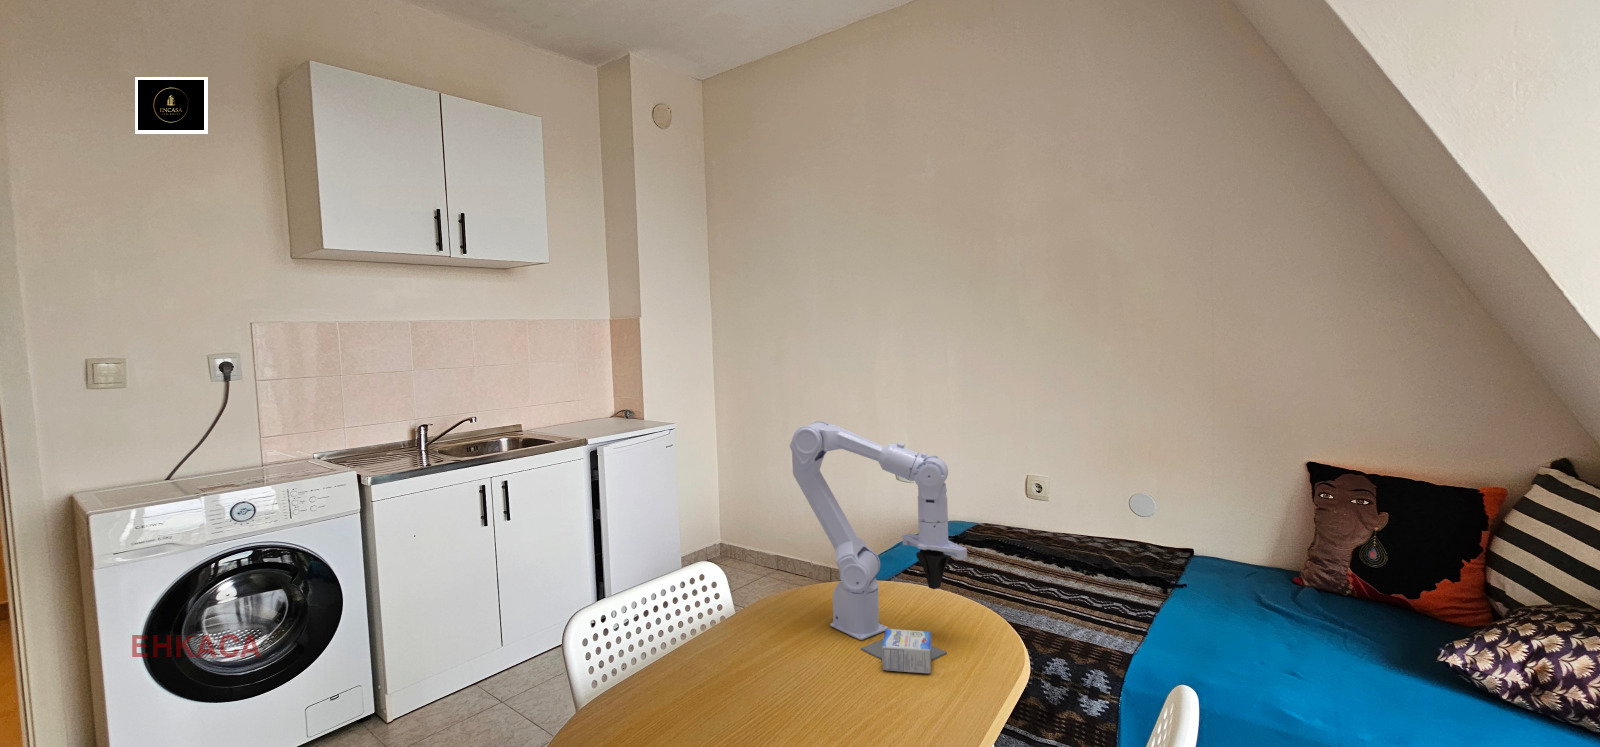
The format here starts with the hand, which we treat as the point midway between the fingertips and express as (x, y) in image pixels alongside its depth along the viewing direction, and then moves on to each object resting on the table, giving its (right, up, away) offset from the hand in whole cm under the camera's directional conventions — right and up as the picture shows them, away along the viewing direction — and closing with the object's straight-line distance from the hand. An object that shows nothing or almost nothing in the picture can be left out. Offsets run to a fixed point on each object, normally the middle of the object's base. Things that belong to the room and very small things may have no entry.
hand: (934, 587), depth 134 cm
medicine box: (-3, -9, -11) cm, 14 cm away
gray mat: (-7, -11, -5) cm, 14 cm away
